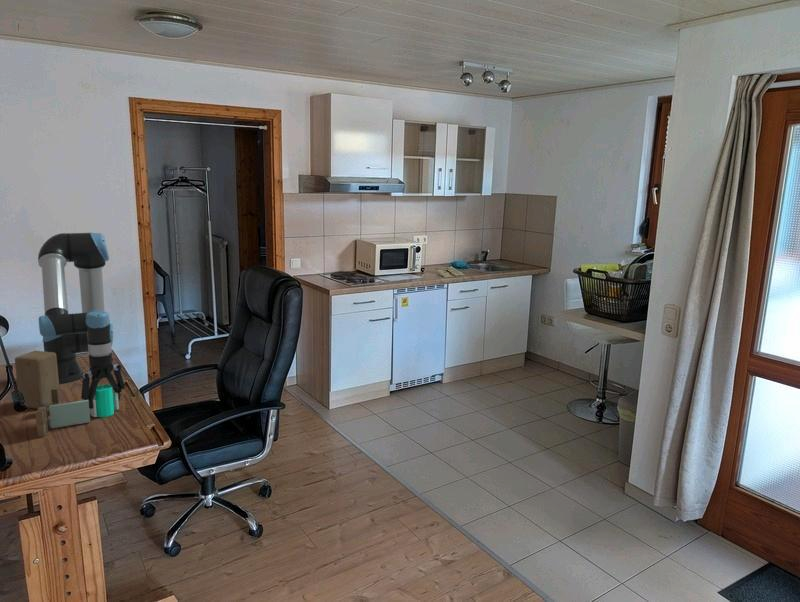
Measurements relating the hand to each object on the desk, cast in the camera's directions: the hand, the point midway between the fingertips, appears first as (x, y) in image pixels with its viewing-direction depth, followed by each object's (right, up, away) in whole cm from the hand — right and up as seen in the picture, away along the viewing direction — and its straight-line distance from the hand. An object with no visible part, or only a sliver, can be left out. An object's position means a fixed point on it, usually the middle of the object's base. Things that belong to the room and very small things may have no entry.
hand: (105, 412), depth 214 cm
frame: (-15, -2, -8) cm, 17 cm away
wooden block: (-29, +1, +8) cm, 30 cm away
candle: (0, -1, 0) cm, 1 cm away
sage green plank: (-7, -2, -11) cm, 13 cm away
